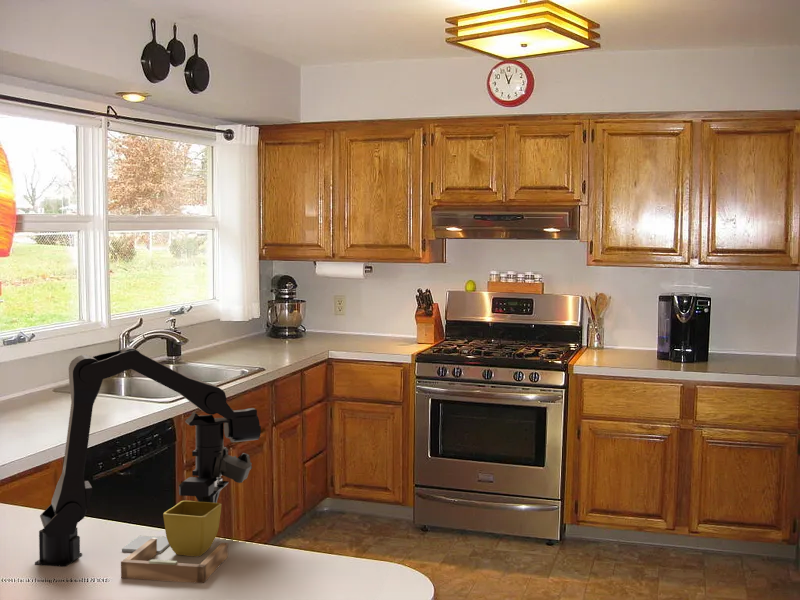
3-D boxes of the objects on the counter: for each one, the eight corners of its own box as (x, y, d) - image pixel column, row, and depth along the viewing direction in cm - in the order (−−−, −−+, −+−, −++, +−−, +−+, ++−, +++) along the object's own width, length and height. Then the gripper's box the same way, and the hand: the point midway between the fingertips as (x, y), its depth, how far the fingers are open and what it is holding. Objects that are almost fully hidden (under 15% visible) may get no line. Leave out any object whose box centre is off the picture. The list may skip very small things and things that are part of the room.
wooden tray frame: (151, 553, 167) (150, 536, 167) (227, 558, 165) (227, 541, 165) (121, 577, 155) (120, 559, 155) (203, 583, 153) (203, 565, 152)
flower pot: (204, 562, 163) (203, 516, 163) (162, 558, 165) (161, 513, 164) (222, 546, 172) (222, 503, 171) (182, 543, 173) (182, 500, 173)
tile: (121, 551, 168) (121, 547, 168) (139, 538, 176) (139, 534, 176) (160, 553, 167) (160, 550, 167) (176, 540, 175) (176, 536, 175)
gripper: (231, 456, 166) (231, 534, 167) (260, 436, 185) (260, 506, 185) (177, 454, 168) (178, 531, 169) (211, 434, 186) (211, 504, 187)
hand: (209, 517), depth 177 cm, fingers closed
